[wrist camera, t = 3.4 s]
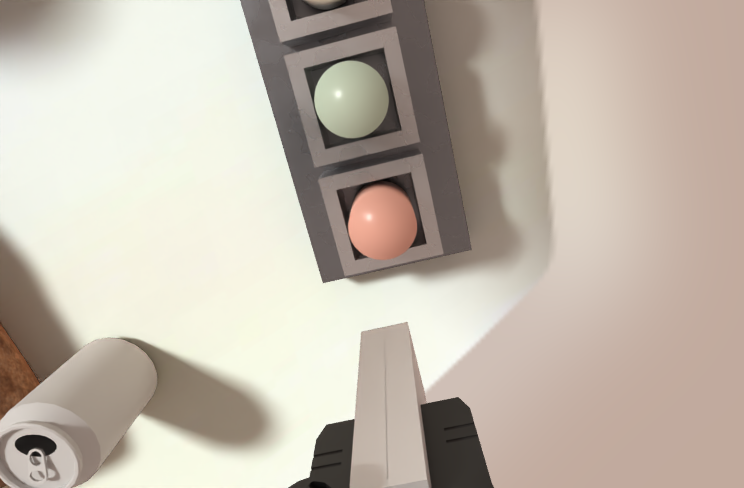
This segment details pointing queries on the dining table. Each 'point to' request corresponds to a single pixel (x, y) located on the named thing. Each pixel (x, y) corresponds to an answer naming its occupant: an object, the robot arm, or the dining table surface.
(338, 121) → the button sage
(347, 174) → the console
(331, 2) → the button ivory
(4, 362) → the bread
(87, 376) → the can
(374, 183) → the button coral
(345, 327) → the dining table surface
